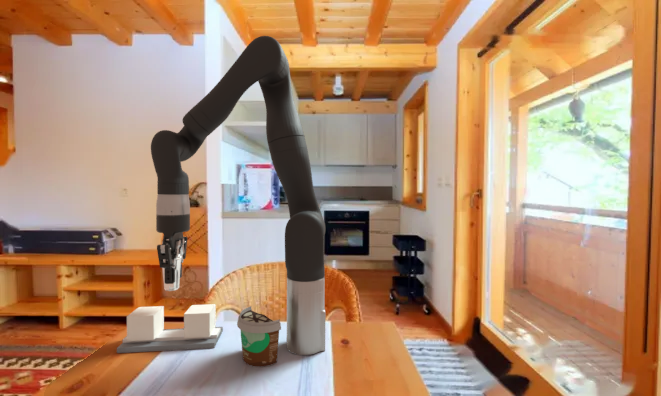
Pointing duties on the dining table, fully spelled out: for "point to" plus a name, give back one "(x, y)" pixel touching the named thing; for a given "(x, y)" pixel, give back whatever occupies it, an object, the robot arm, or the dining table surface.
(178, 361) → the dining table surface
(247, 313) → the food container
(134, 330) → the twin block base plate
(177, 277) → the milkshake
